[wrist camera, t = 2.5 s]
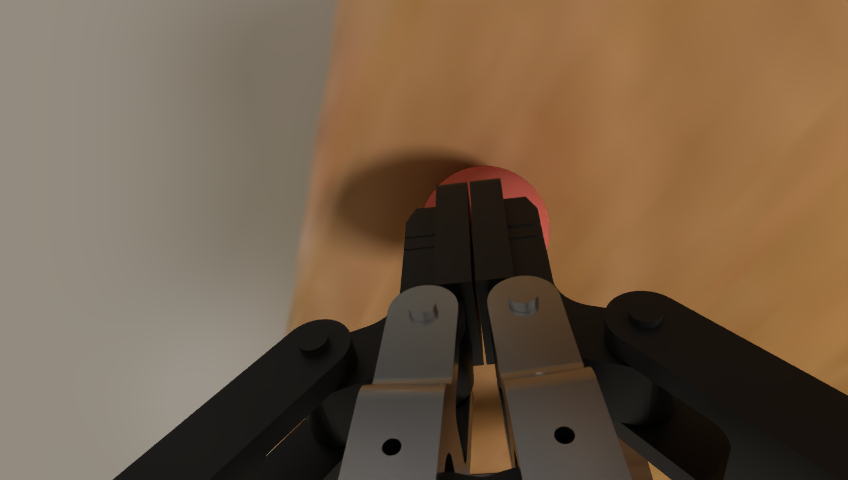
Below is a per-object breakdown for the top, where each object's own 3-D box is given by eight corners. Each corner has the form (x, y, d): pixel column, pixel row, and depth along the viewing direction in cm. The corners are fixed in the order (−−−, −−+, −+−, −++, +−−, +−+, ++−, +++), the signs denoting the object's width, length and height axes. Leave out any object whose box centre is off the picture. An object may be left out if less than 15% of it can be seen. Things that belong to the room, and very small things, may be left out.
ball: (412, 150, 30) (406, 223, 25) (538, 135, 29) (557, 207, 24) (431, 247, 33) (428, 327, 28) (543, 236, 32) (560, 316, 28)
